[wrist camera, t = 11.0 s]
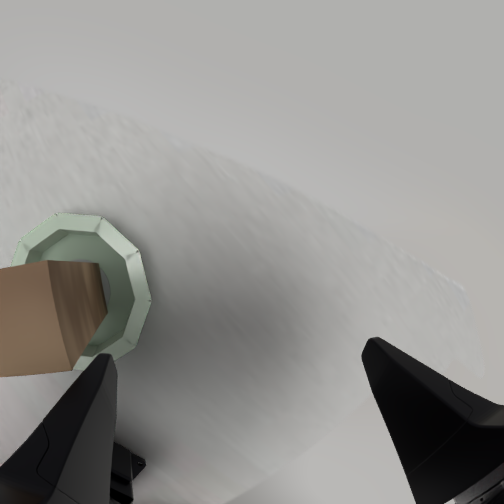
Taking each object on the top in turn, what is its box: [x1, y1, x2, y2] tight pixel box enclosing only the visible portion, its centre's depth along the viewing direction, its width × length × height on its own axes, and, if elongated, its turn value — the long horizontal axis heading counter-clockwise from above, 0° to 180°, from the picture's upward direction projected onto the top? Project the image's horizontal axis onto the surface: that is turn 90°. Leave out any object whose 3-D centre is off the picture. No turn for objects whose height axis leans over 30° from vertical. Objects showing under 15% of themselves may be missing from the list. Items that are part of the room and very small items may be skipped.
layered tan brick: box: [0, 260, 108, 377], centre depth 12 cm, size 4×4×12 cm
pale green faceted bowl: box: [10, 213, 152, 371], centre depth 17 cm, size 10×10×4 cm
